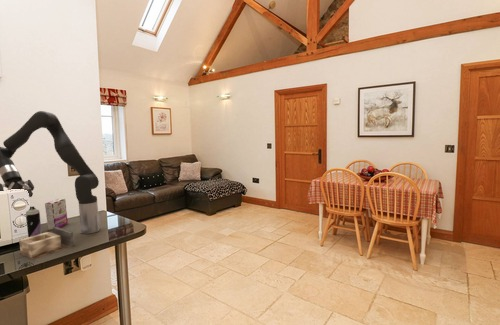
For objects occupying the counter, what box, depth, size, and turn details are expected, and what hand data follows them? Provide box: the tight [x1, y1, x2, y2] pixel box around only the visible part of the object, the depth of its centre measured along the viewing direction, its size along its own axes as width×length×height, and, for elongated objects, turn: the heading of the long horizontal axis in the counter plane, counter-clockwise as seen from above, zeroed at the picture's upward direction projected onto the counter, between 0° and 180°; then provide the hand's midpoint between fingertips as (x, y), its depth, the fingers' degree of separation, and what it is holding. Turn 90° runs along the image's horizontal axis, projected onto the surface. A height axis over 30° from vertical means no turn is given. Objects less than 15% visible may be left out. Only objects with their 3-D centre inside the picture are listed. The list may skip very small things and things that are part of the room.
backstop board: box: [17, 227, 75, 260], centre depth 132 cm, size 17×17×8 cm
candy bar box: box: [44, 198, 69, 231], centre depth 167 cm, size 11×5×16 cm, turn 179°
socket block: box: [18, 231, 61, 257], centre depth 130 cm, size 12×12×6 cm
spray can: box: [25, 206, 43, 238], centre depth 139 cm, size 6×6×20 cm
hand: (21, 197), depth 144 cm, fingers open, 8 cm apart
